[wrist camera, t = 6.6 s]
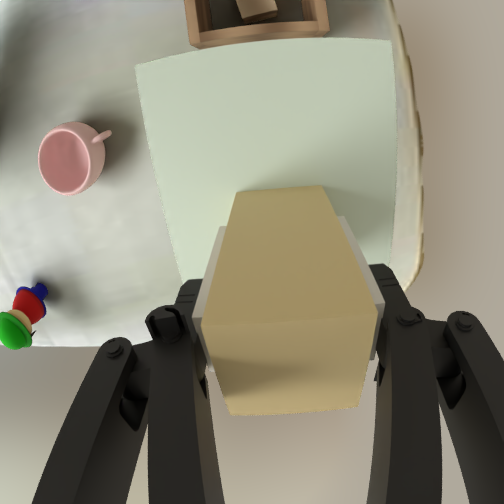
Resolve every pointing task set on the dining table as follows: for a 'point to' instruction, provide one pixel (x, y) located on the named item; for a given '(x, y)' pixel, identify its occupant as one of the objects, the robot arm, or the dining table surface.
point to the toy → (23, 316)
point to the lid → (279, 207)
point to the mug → (72, 157)
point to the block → (256, 10)
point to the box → (253, 26)
